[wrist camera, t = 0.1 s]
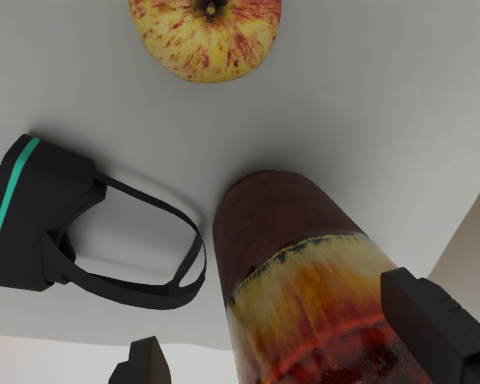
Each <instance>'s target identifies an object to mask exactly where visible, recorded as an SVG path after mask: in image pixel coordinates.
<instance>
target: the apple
mask: <svg viewBox="0 0 480 384" xmlns="http://www.w3.org/2000/svg"><path fill="white" fill-rule="evenodd" d="M128 2H129V9H130V12H131V16H132V19H133V22H134V24H135V26H136V29H137V31H138V33H139V35H140V37H141V39H142V41H143V43H144V45H145V47H146V49H147V50H148V52H149V53H150V54H151V55H152V57H153V58H154V59H155V60H156V61H157V62H158V63H160V64H161V65H162V66H163V67H164V68H166V69H167V70H169V71H170V72H171V73H173V74H174V75H176V76H178V77H179V78H181V79H184V80H186V81H189V82H195V83H219V82H225V81H230V80H234V79H237V78H240V77H242V76H245V75H247V74H248V73H250V72H251V71H253V70H254V69H255V68H257V67H258V66H259V65H260V64H261V62H262V61H263V60H264V59H265V57H266V56H267V55H268V53H269V51H270V49H271V47H272V45H273V43H274V40H275V37H276V34H277V31H278V27H279V22H280V16H281V0H128Z"/></svg>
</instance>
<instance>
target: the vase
mask: <svg viewBox="0 0 480 384" xmlns="http://www.w3.org/2000/svg"><path fill="white" fill-rule="evenodd" d="M213 242H214V249H215V255H216V260H217V266H218V272H219V277H220V283H221V288H222V294H223V299H224V305H225V310H226V316H227V321H228V327H229V332H230V337H231V343H232V348H233V353H234V358H235V364H236V369H237V375H238V380H239V384H433V382H432V381H431V380H430V378H429V377H428V376H427V374H426V373H425V372H424V370H423V369H422V368H421V366H420V365H419V364H418V362H417V361H416V360H415V358H414V357H413V356H412V354H411V353H410V352H409V350H408V349H407V348H406V346H405V345H404V344H403V342H402V341H401V340H400V338H399V337H398V336H397V334H396V333H395V332H394V330H393V329H392V328H391V326H390V325H389V324H388V322H387V320H386V319H385V317H384V314H383V312H382V308H381V287H380V275H381V273H382V272H386V271H389V270H393V269H397V268H398V267H397V266H396V265H395V264H394V263H393V261H392V260H391V259H390V258H389V257H388V256H387V255H386V254H385V253H384V252H383V251H382V250H381V249H380V248H379V247H378V246H377V245H376V244H375V243H374V242H373V241H372V240H371V239H370V238H369V237H368V236H367V235H366V234H365V233H364V232H363V231H362V230H361V229H360V228H359V227H358V226H357V225H356V224H355V223H354V222H353V221H352V220H351V219H350V218H349V217H348V216H347V215H346V214H345V213H344V212H343V211H342V210H341V209H340V208H339V207H338V206H337V205H336V204H335V203H334V202H333V201H332V200H331V198H330V197H329V196H328V195H327V194H326V193H325V192H323V191H322V190H321V189H320V188H319V187H318V186H317V185H316V184H315V183H313V182H312V181H311V180H309V179H308V178H306V177H304V176H302V175H300V174H297V173H294V172H289V171H276V170H263V171H257V172H254V173H251V174H249V175H247V176H245V177H243V178H241V179H240V180H238V181H237V182H236V183H235V184H234V185H233V186H232V187H231V188H230V189H229V190H228V192H227V193H226V195H225V197H224V198H223V200H222V201H221V203H220V205H219V206H218V208H217V211H216V214H215V216H214V221H213Z"/></svg>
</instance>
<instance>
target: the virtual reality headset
mask: <svg viewBox="0 0 480 384" xmlns="http://www.w3.org/2000/svg"><path fill="white" fill-rule="evenodd" d="M107 185H109V186H111V187H114V188H116V189H118V190H120V191H122V192H124V193H126V194H128V195H131V196H133V197H135V198H137V199H140V200H142V201H144V202H147V203H149V204H151V205H154V206H156V207H159V208H161V209H163V210H166V211H168V212H170V213H172V214H174V215H176V216H178V217H179V218H181V219H182V220H184V221H185V222H187V223H188V224H189V225H190V226H191V227H192V228H193V229H194V230H195V231H196V232H197V234H196V237H195V240H194V242H193V244H192V247H191V249H190V251H189V252H188V254H187V256H186V257H185V259H184V260H183V262H182V264H181V265H180V267H179V269H178V270H177V272H176V274H175V276H174V278H173V280H171V281H170V282H168V283H167V284H166V285H148V284H139V283H132V282H126V281H122V280H118V279H114V278H109V277H105V276H101V275H96V274H92V273H88V272H86V271H84V270H83V269H81V268H79V267H78V266H77V265H76V264H74V263H75V259H76V255H75V252H74V250H73V248H72V247H71V244H70V241H69V238H68V235H67V231H66V230H67V228H68V227H69V226H70V225H71V223H72V222H73V221H74V220H75V219H76V218H77V217H78V216H80V215H81V214H82V213H83V212H85V211H86V210H87V209H89V208H90V207H92V206H94V205H96V204H97V203H99V202H101V201H103V200H104V199H105V197H106V191H107ZM202 243H203V240H202V238H201V236H200V233H199V231H198V228H197V226H196V225H195V224H194V223H193V222H192V220H191V219H190V218H189V217H188V216H186V215H185V214H184V213H183V212H181V211H180V210H178V209H175V208H174V207H172V206H171V205H169V204H167V203H165V202H164V201H161V200H159V199H157V198H154V197H152V196H150V195H147V194H145V193H143V192H141V191H138V190H136V189H134V188H132V187H130V186H127V185H125V184H123V183H121V182H119V181H117V180H115V179H113V178H111V177H109V176H107V175H104V174H102V173H100V172H98V171H96V168H95V166H94V163H93V161H92V160H91V159H89V158H86V157H84V156H81V155H79V154H76V153H73V152H71V151H68V150H66V149H63V148H60V147H58V146H55V145H53V144H50V143H48V142H45V141H42V140H40V139H37V138H35V137H32V136H29V135H27V134H23V135H22V136H21V137H20V138H19V139H18V140H17V141H16V142H15V143H14V144H13V145H12V147H11V148H10V149H9V150H8V152H7V153H6V154H5V156H4V158H3V160H2V162H1V165H0V286H2V287H9V288H17V289H24V290H32V291H39V292H41V291H44V290H46V289H47V288H49V287H51V286H52V285H54V282H57V283H61V284H63V285H66V284H67V283H69V282H73V283H75V284H76V285H78V286H80V287H81V288H83V289H85V290H86V291H88V292H91V293H93V294H95V295H98V296H100V297H103V298H106V299H109V300H112V301H115V302H118V303H121V304H126V305H130V306H135V307H141V308H147V309H156V310H169V309H176V308H178V307H181V306H184V305H186V304H187V303H189V302H190V301H192V300H193V299H194V297H196V295H197V293H198V291H199V290H200V288H201V286H202V284H203V282H204V280H205V272H206V264H207V260H206V250H205V245H204V243H203V246H204V252H205V263H204V268H203V270H202V272H201V274H200V276H199V277H198V279H197V280H196V281H195V282H194V283H192V284H190V285H187V286H184V287H179V283H180V281H181V280H182V278H183V277H184V276H185V274H186V273H187V272H188V270H189V269H190V267H191V266H192V264H193V262H194V261H195V259H196V257H197V255H198V253H199V251H200V248H201V245H202Z"/></svg>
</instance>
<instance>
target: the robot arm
mask: <svg viewBox="0 0 480 384" xmlns="http://www.w3.org/2000/svg"><path fill="white" fill-rule="evenodd" d="M380 287H381V308H382V312H383V314H384V317H385V319H386V320H387V322H388V324H389V325H390V326H391V328H392V329H393V330H394V332H395V333H396V334H397V336H398V337H399V338H400V340H401V341H402V342H403V344H404V345H405V346H406V348H407V349H408V350H409V352H410V353H411V354H412V356H413V357H414V358H415V360H416V361H417V362H418V364H419V365H420V366H421V368H422V369H423V370H424V372H425V373H426V374H427V376H428V377H429V378H430V380H431V381H432V382H433V384H480V323H479V322H478V321H477V320H476V319H475V318H473V317H472V316H471V315H470V314H469V313H468V312H467V311H466V310H465V309H462V307H461V305H460V304H459V303H457V302H456V301H455V300H454V299H452V298H451V296H450V295H449V294H448V293H447V292H446V291H445V290H444V289H442V288H441V287H440V286H439V285H437V284H435V283H433V282H431V281H429V280H427V279H425V278H419V279H416V278H415V277H414V276H413V275H412V274H411V273H410V272H409V271H408V270H407V269H406V268H404V267H400V268H397V269H393V270H389V271H386V272H382V273H381V275H380ZM108 384H171V375H170V370H169V367H168V364H167V362H166V359H165V357H164V355H163V352H162V350H161V348H160V345H159V343H158V340H157V338H156V337H155V336H152V337H148V338H145V339H141V340H138V341H134V342H132V343H131V346H130V353H129V360H128V361H126V362H122V363H118V365H117V366H116V368H115V370H114V372H113V373H112V375H111V377H110V379H109V383H108Z"/></svg>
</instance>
